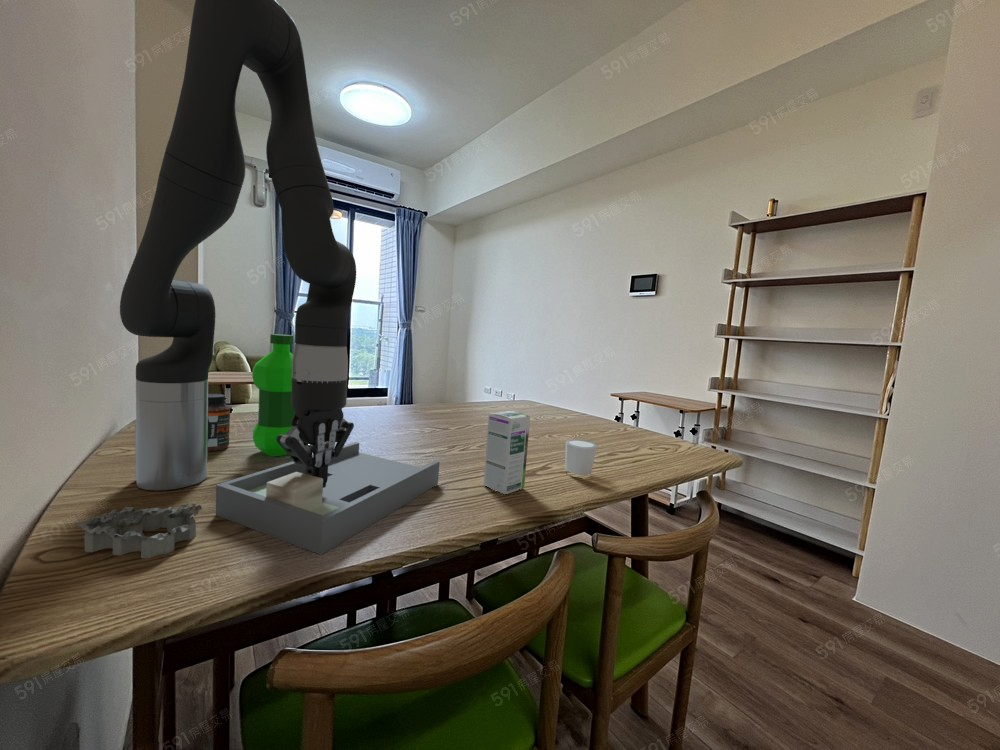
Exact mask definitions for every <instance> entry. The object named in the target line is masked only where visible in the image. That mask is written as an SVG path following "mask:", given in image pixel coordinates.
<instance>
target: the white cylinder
mask: <svg viewBox="0 0 1000 750" xmlns="http://www.w3.org/2000/svg"><path fill="white" fill-rule="evenodd" d="M597 447H598V445H597V444H596V443H594V442H591V441H588V440H582V439H567V440H566V441H565V449H564V450H565V453H564V454H565V456H564V457H565V458H564V459H565V461H564V470H565V469H566V470H567V471H569V472H571V473H574V474H578V475H588V474H591V475H592V472H593V466H594V462H595V457H596V454H597Z"/></svg>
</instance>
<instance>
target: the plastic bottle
mask: <svg viewBox="0 0 1000 750" xmlns="http://www.w3.org/2000/svg"><path fill="white" fill-rule="evenodd" d="M269 337H270V339H269V340H270V344H272V351H269V353H268V354H266V355H264V356H263V357H262V358H261V359H260V360H258V361H257V362H255V364H254V366H253V368H252V375H251V376H252V380H253V385H254V386H255V387H256V388H257V389H258V415H257V417H258V419H257V420H258V421H257V423H256V425H255V426H254V429H253V431H252V440H253V442H254V445H255V447H256V448H257V450H259V451H260V452H262V453H264V455H265V456H270V457H275V456H276V457H278V456H279V457H280V456H286V455H287V456H288V454H287V453H286V452H285V451H284V450H283V448H282V447H281V446H280V445H279V444H278V442H277V441H276V439H277V437H278V435H280V434H282V435H285V434H286V433H287V432H288V431H289V430H290V429H291V427H292V426H291V422H292V419H293V417H294V413H295V412H294V409H293V407H292V405H291V388H292V358H293V353H292V352H291V345H294V335H293V334H283V333H281V334H280V333H270V336H269ZM300 444H301V443H300Z"/></svg>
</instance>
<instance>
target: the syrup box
mask: <svg viewBox="0 0 1000 750" xmlns="http://www.w3.org/2000/svg"><path fill="white" fill-rule="evenodd" d="M530 422H531V416H530V415H528V414H526V413H522V412H518V411H512V410H507V411H500V412H494V413H493V412H492V413H491V412H490V413H488V422H487V432H486V433H487V434H486V445H485V446H486V448H485V461H484V476H483V477H484V478H483V486H484V485H485V486H487V487H490V488H492V489H494V490H497V491H499V492H501V493H503V494H507V495H508V494H511V493H514V492H516V491H517V492H518V491H520V490H522V489H521V488H523V487H524V488H525V484H526V483H525V482H526V473H527V472H526V470H527V457H528V448H529V447H528V445H529V435H530V434H529V433H530ZM485 486H484V487H485ZM487 487H486V488H487ZM524 488H523V489H524ZM519 489H520V490H519ZM503 494H502V495H503Z"/></svg>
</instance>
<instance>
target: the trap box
mask: <svg viewBox="0 0 1000 750" xmlns="http://www.w3.org/2000/svg"><path fill="white" fill-rule="evenodd" d="M312 457H313V454H312ZM294 472H300V473H303V474H306V466H305V465H301V464H296V463H294V462H293V460H291V461H289V462H287V463H283V464H280V465H279V464H278V465H277V466H273V467H270V468H266V469H263V470H260V471H257V472H256V471H255V472H254V473H250V474H247V475H243V476H241V477H237V478H234V479H231V480H227V481H224V482H221V483H217V484H216V485H215V516H218V517H219V518H223V519H225V520H227V521H230V522H233V523H236V524H239V525H241V526H245V527H247V528H249V529H252V530H254V531H258V532H260V533H263V534H265V535H268V536H269V537H272V538H275V539H279V540H281V541H284V542H286V543H290V544H292V545H294V546H296V547H299V548H302V549H305V550H308V551H310V552H313V553H315V554H317V555H320V556H322V555H323V554H325V553H327V552H328V551H330V550H332V549H333V548H335V547H337V546H338V545H340V544H342V543H343V542H346V541H347V540H348V539H350V538H351V537H353V536H355V535H356V534H358V533H360V532H361V531H363V530H365V529H366V528H368V527H370V526H372V525H373V524H375V523H376V522H378V521H380V520H381V519H383V518H385V517H387V516H388V515H390V514H392V513H393V512H395V511H397V510H399V509H400V508H401V507H403V506H405V505H406V504H409V503H410V502H412V501H413V500H414V499H416V498H418V497H420V496H421V495H423V494H425V493H427V492H428V491H430V490H431V489H433V488H434V486H435V485H436V486H438V485H439V473H440V460H439V461H438V460H433V461H431V462H428V463H426V464H425V465H423V466H421V467H420V466H418V465H417V466H416V465H414V464H413V465H412V464H408V463H403V462H400V461H396V460H391V459H388V458H383V457H379V456H375V455H372V454H367V453H362V452H360V442H357V441H354V442H352V443H348V444H345V445H344V446H343V448H342V450H341V452H340V454H339V456H338V457H333V458H332V459H331V461H330V463H329V464H328V480H327V483H326V487H325V488H323V494H322V506H320V507H317V508H315V509H313V510H311V511H308V510H305V509H302V508H299V507H296V506H293V505H290V504H287V503H284V502H281V501H277V500H274V499H271V498H268V497H266V485H267V482H269V481H272V480H275V479H278V478H280V477H283V476H286V475H289V474H292V473H294ZM437 484H438V485H437ZM436 486H435V487H436ZM432 487H433V488H432ZM429 489H430V490H429ZM427 490H428V491H427ZM424 492H425V493H424ZM419 495H420V496H419Z"/></svg>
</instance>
